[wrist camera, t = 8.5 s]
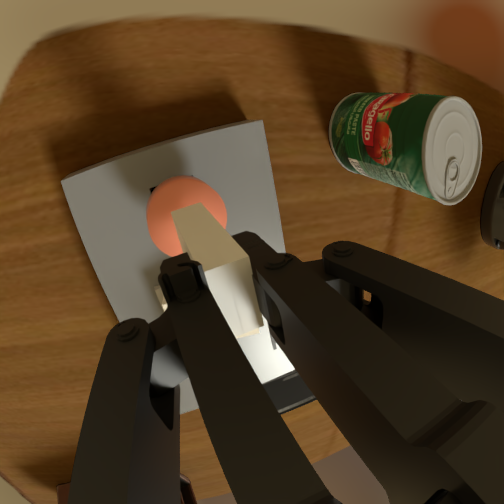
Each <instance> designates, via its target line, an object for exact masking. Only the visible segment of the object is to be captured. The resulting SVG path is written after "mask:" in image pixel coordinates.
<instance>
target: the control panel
mask: <svg viewBox="0 0 504 504" xmlns="http://www.w3.org/2000/svg"><path fill="white" fill-rule="evenodd" d="M181 175H187V176H193V177H196V178H198V179H200V180H202V181H204V182H205V183H206V184H208V185H209V186H210V187H211V188H212V189H214V190H215V191H216V192H217V193H218V194H219V195H220V197H221V198H222V200H223V202H224V204H225V207H226V212H227V224H226V229H225V230H226V231H227V232H228V233H229V234H230V236H232V235H235V234H238V233H241V232H244V231H249V232H253V233H256V234H257V235H258V236H259V237H261V239H263V240H264V241H265V242H266V243H267V244H268V245H269V246H271V247H272V248H273V249H274V250H275V251H276V252H277V253H286V252H285V246H284V239H283V233H282V227H281V221H280V215H279V209H278V203H277V197H276V191H275V186H274V180H273V174H272V169H271V163H270V158H269V152H268V147H267V141H266V136H265V130H264V125H263V120H244V121H240V122H235V123H231V124H227V125H222V126H218V127H214V128H210V129H206V130H202V131H198V132H194V133H191V134H187V135H183V136H180V137H176V138H172V139H169V140H166V141H162V142H159V143H156V144H152V145H149V146H146V147H143V148H140V149H137V150H133V151H130V152H127V153H124V154H122V155H119V156H116V157H113V158H110V159H107V160H104V161H102V162H99V163H96V164H94V165H91V166H88V167H86V168H83V169H81V170H78V171H75V172H73V173H70V174H69V175H67V176H66V177H65V178H64V179H63V180H61V184H62V187H63V190H64V193H65V196H66V198H67V201H68V204H69V207H70V210H71V213H72V215H73V218H74V221H75V223H76V226H77V228H78V231H79V234H80V236H81V239H82V241H83V244H84V246H85V248H86V251H87V253H88V256H89V258H90V260H91V263H92V265H93V267H94V270H95V272H96V274H97V276H98V278H99V281H100V283H101V285H102V287H103V289H104V291H105V293H106V296H107V298H108V300H109V302H110V304H111V306H112V308H113V310H114V312H115V314H116V316H117V318H118V320H119V322H122V321H124V320H127V319H130V318H141V319H145V320H146V321H147V322H148V324H149V323H150V322H152V321H154V320H155V319H157V318H158V317H160V316H161V315H162V314H163V313H164V312H165V311H164V309H163V306H162V300H163V292H162V290H161V287H160V285H159V282H158V275H159V274H160V273H161V271H160V266H161V264H162V262H163V260H165V259H168V258H171V256H169V255H167V254H165V253H164V252H162V251H161V250H160V249H159V248H158V247H157V246H156V245H155V244H154V242H153V241H152V239H151V236H150V234H149V230H148V225H147V219H146V207H147V203H148V200H149V197H150V195H151V192H150V188H153V187H156V186H158V185H159V184H161V183H162V182H163V181H165V180H167V179H169V178H172V177H175V176H181ZM262 318H263V322H264V326H262V327H259V332H260V333H258V334H253V335H249V336H245V337H241V338H237V341H238V343H239V345H240V346H241V348H242V350H243V352H244V354H245V355H246V357H247V359H248V361H249V362H250V364H251V366H252V368H253V369H254V371H255V373H256V375H257V376H258V378H259V380H260V382H261V383H262V384H263V383H265V382H267V381H270V380H272V379H274V378H277V377H279V376H281V375H284V374H286V373H288V372H290V371H292V370H295V368H294V367H293V365H292V364H291V363H290V361H289V360H288V358H287V357H286V356H285V354H284V353H283V351H282V350H281V349H280V347H279V346H278V344H277V343H276V347H277V349H275V350H274V349H273V346H272V342H271V337H270V333H269V328H268V323H267V320H266V319H265V318H264V316H263V315H262ZM179 385H180V414H182V413H186V412H188V411H191V410H194V409H197V408H199V406H198V403H197V400H196V398H195V395H194V392H193V389H192V386H191V383H190V380H189V377H188V378H187V379H185V380H184V381H182V382H181V383H179Z"/></svg>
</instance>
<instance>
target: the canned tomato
mask: <svg viewBox="0 0 504 504" xmlns="http://www.w3.org/2000/svg"><path fill="white" fill-rule="evenodd" d="M329 141H330V146H331V149H332V151H333V154H334V156H335V157H336V159H337V161H338V162H339V163H340V164H341V165H342V166H343V167H344V168H346V169H347V170H348V171H351V172H353V173H358V174H361V175H364V176H367V177H370V178H373V179H376V180H380V181H383V182H385V183H389V184H391V185H395V186H397V187H401V188H403V189H406V190H409V191H411V192H415V193H417V194H419V195H423V196H425V197H427V198H431V199H433V200H436V201H438V202H440V203H442V204H444V205H454V204H457V203H458V202H460V201H462V200H463V199H464V198H465V197H466V196H467V195H468V193H469V192H470V190H471V189H472V187H473V185H474V183H475V181H476V178H477V175H478V172H479V168H480V163H481V157H482V137H481V131H480V126H479V123H478V119H477V117H476V115H475V112H474V111H473V109H472V108H471V106H470V105H469V104H468V103H467V102H466V101H465V100H464V99H462V98H460V97H457V96H441V95H429V94H413V93H409V94H408V93H378V92H377V93H362V92H358V93H352V94H350V95H348V96H346V97H344V98H343V99H342V100H341V101H340V102H339V103H338V104H337V106H336V107H335V109H334V111H333V113H332V116H331V119H330V124H329Z"/></svg>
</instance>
